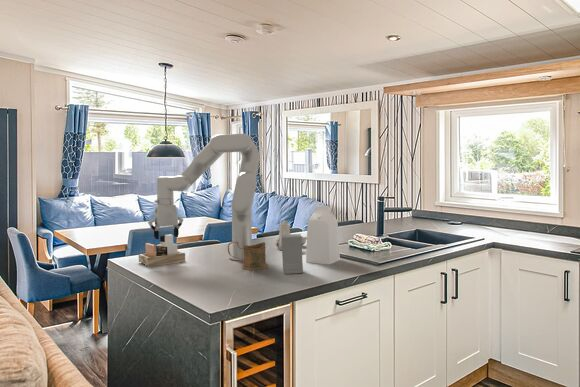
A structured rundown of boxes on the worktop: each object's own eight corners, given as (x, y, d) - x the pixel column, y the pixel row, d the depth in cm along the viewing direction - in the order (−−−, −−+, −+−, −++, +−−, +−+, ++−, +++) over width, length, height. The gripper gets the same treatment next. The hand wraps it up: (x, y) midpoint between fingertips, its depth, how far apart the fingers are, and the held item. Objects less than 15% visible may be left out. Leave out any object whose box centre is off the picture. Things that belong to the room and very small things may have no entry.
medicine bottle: (156, 260, 212) (155, 234, 212) (167, 257, 219) (166, 233, 218) (167, 261, 209) (166, 235, 209) (178, 258, 215) (177, 233, 215)
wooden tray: (185, 261, 214) (185, 252, 213) (148, 266, 202) (148, 257, 202) (174, 257, 223) (174, 249, 223) (138, 262, 212) (138, 254, 211)
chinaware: (301, 257, 229) (304, 224, 228) (269, 253, 231) (272, 221, 230) (307, 247, 256) (309, 219, 255) (278, 244, 259) (281, 216, 258)
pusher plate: (155, 262, 206) (155, 245, 206) (153, 262, 205) (152, 245, 205) (148, 259, 213) (147, 243, 213) (145, 260, 212) (145, 243, 212)
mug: (225, 266, 199) (224, 240, 199) (263, 263, 205) (262, 237, 205) (231, 272, 188) (230, 243, 188) (271, 268, 194) (270, 241, 194)
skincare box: (302, 270, 189) (301, 233, 189) (303, 274, 182) (302, 235, 181) (282, 270, 189) (281, 233, 188) (282, 274, 182) (281, 236, 181)
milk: (340, 259, 211) (339, 205, 210) (329, 264, 201) (328, 206, 200) (317, 257, 217) (316, 204, 216) (306, 262, 207) (305, 206, 206)
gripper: (150, 203, 205) (152, 240, 205) (185, 201, 215) (186, 236, 216) (144, 202, 210) (145, 239, 211) (178, 200, 221) (179, 235, 222)
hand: (166, 237), depth 214 cm, fingers open, 9 cm apart
